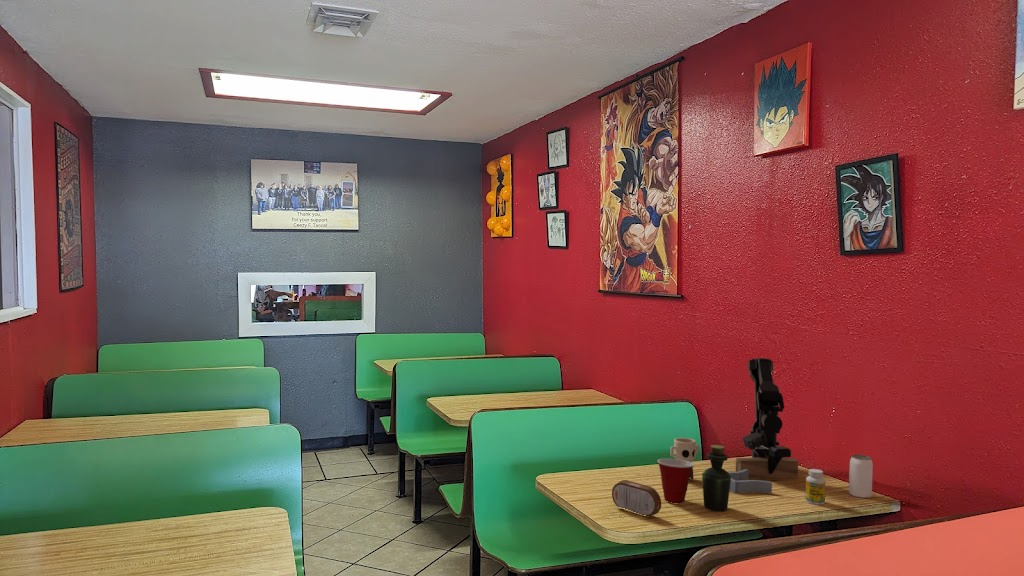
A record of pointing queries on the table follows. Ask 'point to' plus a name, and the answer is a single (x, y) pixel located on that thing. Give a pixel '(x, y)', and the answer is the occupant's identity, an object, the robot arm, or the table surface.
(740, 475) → the grey stepped block
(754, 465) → the walnut slat
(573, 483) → the table surface
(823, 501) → the supplement bottle
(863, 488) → the can
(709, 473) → the potion bottle
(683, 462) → the plastic cup
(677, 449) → the character mug
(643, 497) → the tin
